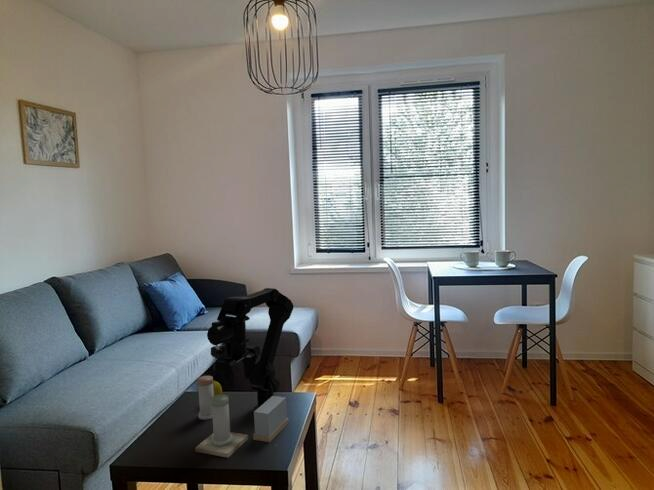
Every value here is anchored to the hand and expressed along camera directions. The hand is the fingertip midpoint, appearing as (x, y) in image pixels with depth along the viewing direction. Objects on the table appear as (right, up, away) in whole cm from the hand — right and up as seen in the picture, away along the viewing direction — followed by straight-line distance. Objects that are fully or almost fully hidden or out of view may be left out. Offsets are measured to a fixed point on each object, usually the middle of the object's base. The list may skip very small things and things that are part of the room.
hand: (239, 383), depth 148 cm
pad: (-3, -14, -13) cm, 19 cm away
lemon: (-12, -12, +18) cm, 25 cm away
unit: (+11, -13, -5) cm, 18 cm away
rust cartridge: (-12, -13, +7) cm, 19 cm away
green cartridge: (-3, -13, -13) cm, 18 cm away
